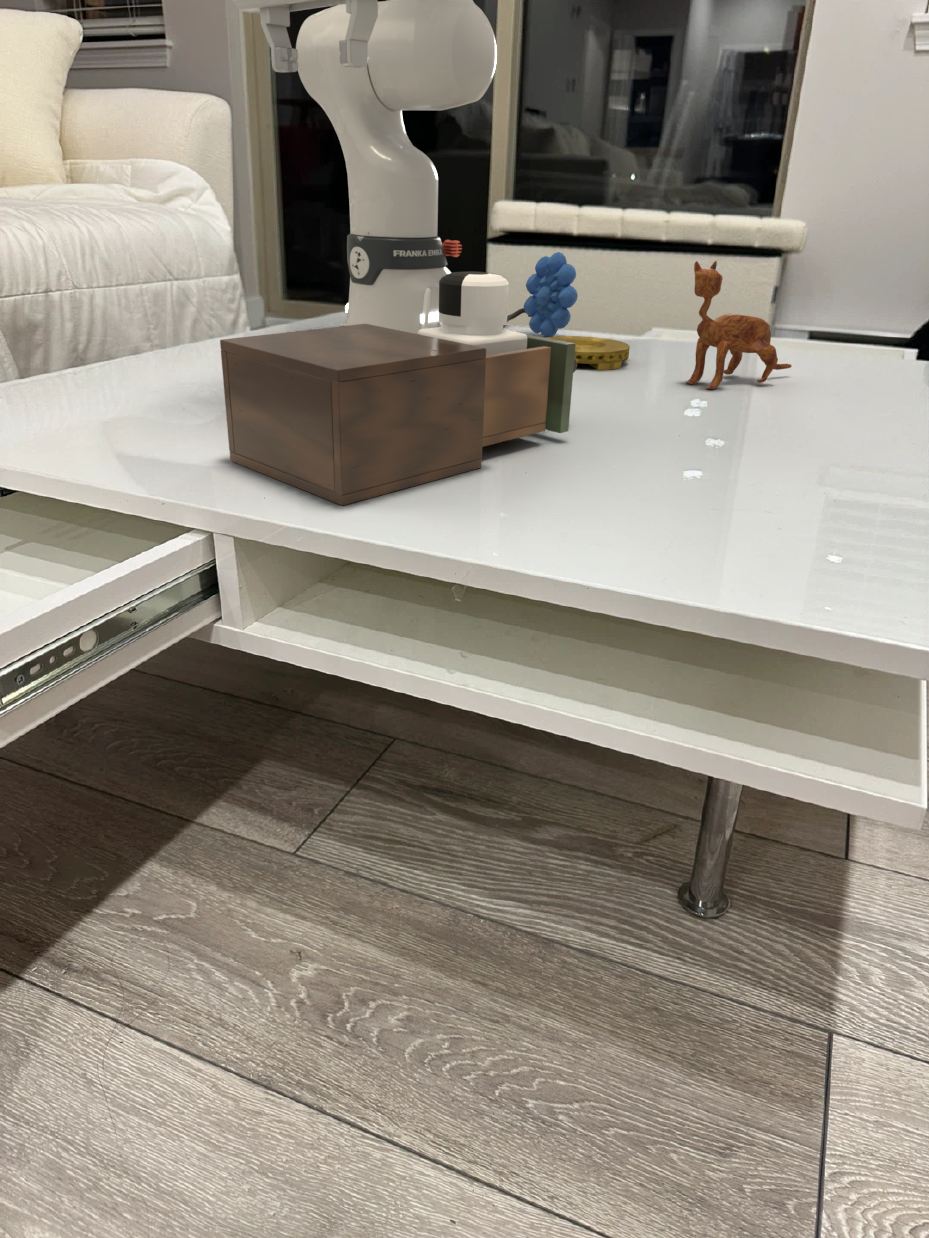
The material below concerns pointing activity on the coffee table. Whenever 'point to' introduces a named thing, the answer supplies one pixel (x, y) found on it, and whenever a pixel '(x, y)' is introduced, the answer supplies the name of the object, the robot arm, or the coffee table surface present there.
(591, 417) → the coffee table surface
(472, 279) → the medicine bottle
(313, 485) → the cabinet
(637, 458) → the coffee table surface
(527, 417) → the drawer
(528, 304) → the grapes
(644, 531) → the coffee table surface
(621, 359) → the golden round trivet
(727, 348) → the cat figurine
